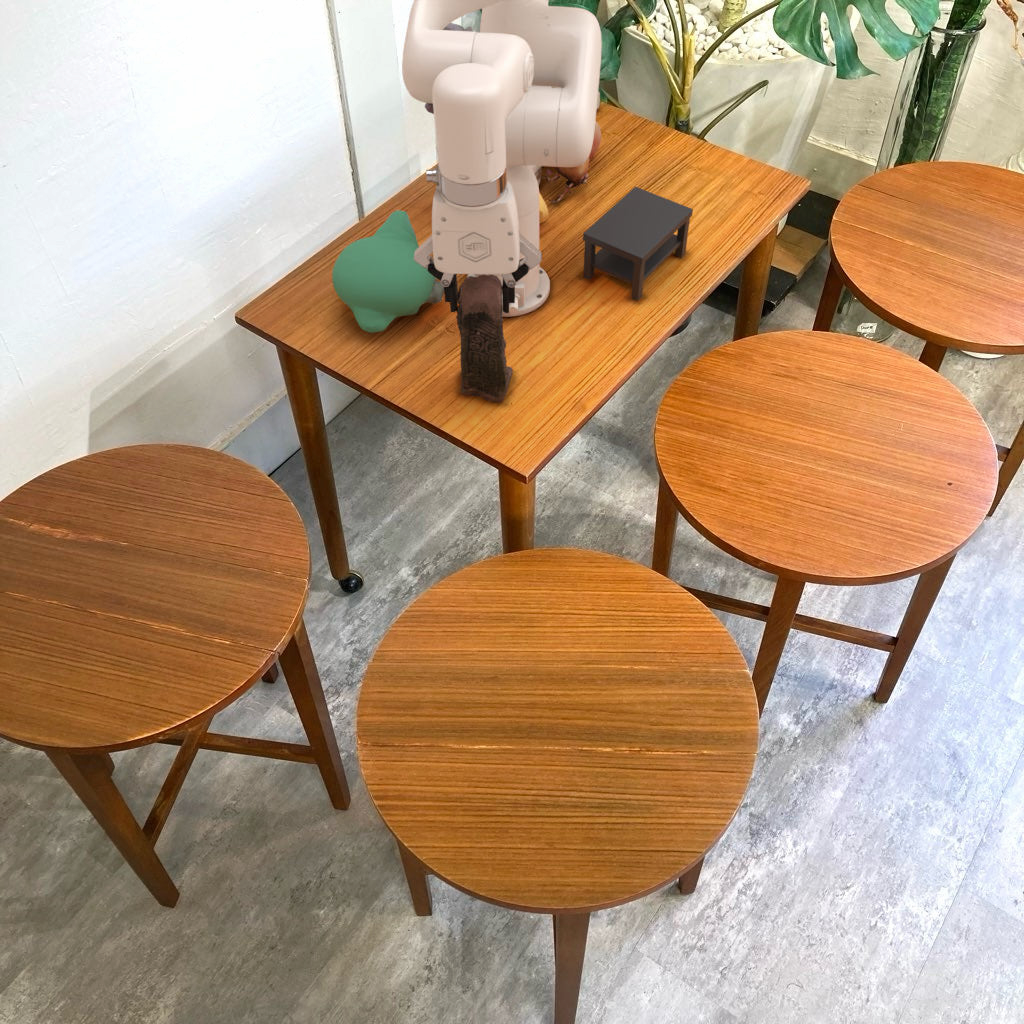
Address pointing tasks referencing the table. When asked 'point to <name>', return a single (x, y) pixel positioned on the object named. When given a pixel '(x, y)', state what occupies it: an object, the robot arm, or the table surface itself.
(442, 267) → the robot arm
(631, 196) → the dark coffee table
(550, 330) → the table surface
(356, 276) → the toy
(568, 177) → the vegetable
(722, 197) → the table surface
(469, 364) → the statue
